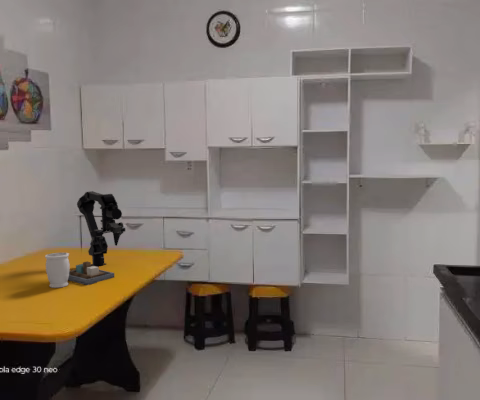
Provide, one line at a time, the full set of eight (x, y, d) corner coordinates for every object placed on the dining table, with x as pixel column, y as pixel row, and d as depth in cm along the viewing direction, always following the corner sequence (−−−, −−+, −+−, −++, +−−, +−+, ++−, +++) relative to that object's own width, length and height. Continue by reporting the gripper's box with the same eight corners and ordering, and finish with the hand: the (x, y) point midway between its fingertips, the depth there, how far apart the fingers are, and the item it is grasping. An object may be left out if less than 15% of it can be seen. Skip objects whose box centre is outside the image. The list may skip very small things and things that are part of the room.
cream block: (87, 275, 245) (86, 267, 244) (93, 273, 248) (93, 265, 247) (92, 276, 242) (91, 268, 242) (99, 274, 245) (98, 266, 245)
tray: (60, 278, 249) (60, 273, 248) (87, 271, 261) (87, 267, 261) (87, 285, 235) (87, 279, 234) (114, 277, 247) (114, 272, 247)
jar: (75, 283, 238) (73, 252, 237) (61, 289, 228) (59, 257, 227) (57, 282, 242) (55, 251, 240) (42, 287, 232) (40, 256, 230)
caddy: (70, 275, 250) (69, 261, 249) (83, 271, 256) (82, 258, 256) (91, 280, 239) (90, 266, 238) (105, 276, 245) (104, 262, 245)
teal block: (76, 273, 250) (75, 265, 250) (83, 271, 253) (82, 263, 253) (80, 274, 248) (80, 266, 247) (87, 272, 251) (87, 264, 250)
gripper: (102, 221, 250) (103, 251, 252) (131, 216, 265) (132, 245, 266) (88, 219, 257) (90, 249, 259) (118, 215, 271) (119, 243, 273)
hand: (109, 247), depth 264 cm, fingers open, 9 cm apart
